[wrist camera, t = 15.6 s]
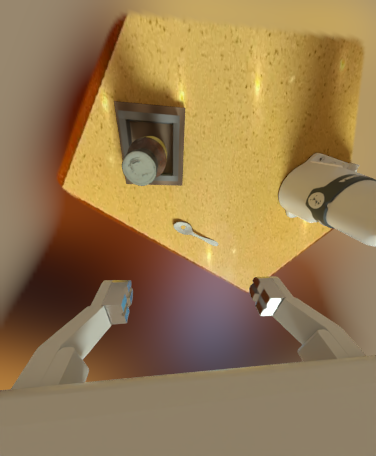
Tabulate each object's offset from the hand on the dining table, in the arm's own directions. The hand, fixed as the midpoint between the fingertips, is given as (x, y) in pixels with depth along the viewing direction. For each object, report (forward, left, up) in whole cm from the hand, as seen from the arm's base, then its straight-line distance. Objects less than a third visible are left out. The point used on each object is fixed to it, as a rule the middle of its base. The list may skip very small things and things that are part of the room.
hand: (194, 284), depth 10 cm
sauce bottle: (+5, -5, -33) cm, 34 cm away
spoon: (-9, +19, -34) cm, 40 cm away
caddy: (+5, -6, -34) cm, 35 cm away
